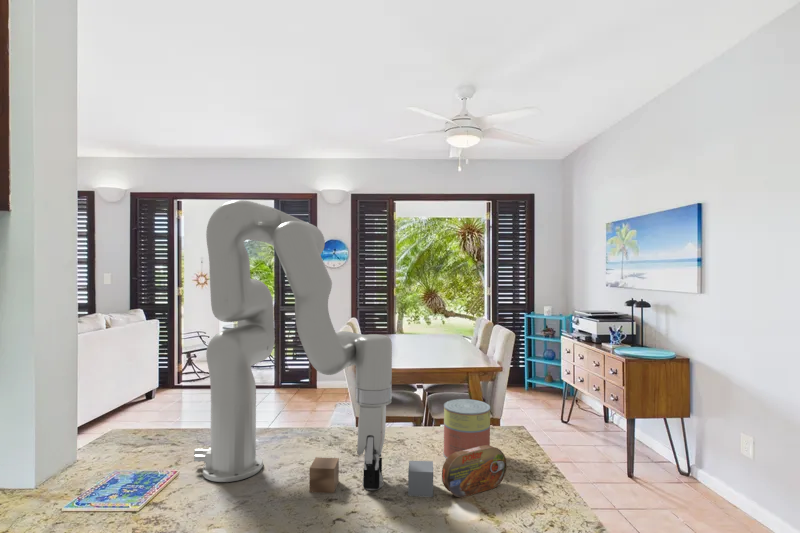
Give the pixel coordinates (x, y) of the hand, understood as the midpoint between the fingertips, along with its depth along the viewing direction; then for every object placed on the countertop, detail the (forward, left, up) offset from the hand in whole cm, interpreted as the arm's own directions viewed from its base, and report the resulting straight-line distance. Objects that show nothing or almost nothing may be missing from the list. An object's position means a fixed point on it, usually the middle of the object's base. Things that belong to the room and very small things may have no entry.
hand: (372, 481), depth 93 cm
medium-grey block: (+10, -1, -1) cm, 10 cm away
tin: (+21, 0, -1) cm, 21 cm away
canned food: (+21, +17, -1) cm, 27 cm away
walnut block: (-10, -1, -1) cm, 10 cm away
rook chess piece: (0, 0, -1) cm, 1 cm away
